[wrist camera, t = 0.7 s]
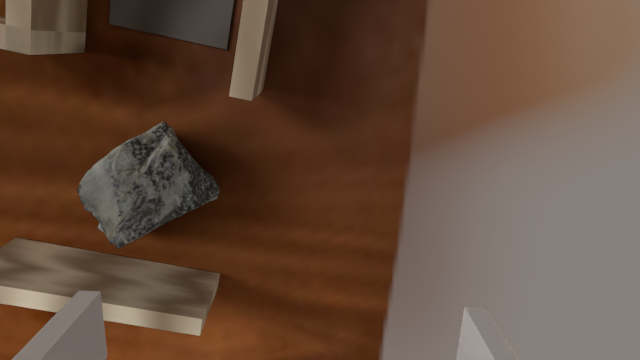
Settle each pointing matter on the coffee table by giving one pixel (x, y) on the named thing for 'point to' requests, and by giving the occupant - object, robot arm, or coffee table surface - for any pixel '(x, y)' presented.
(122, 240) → the stone
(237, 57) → the wooden wall enclosure
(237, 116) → the coffee table surface
